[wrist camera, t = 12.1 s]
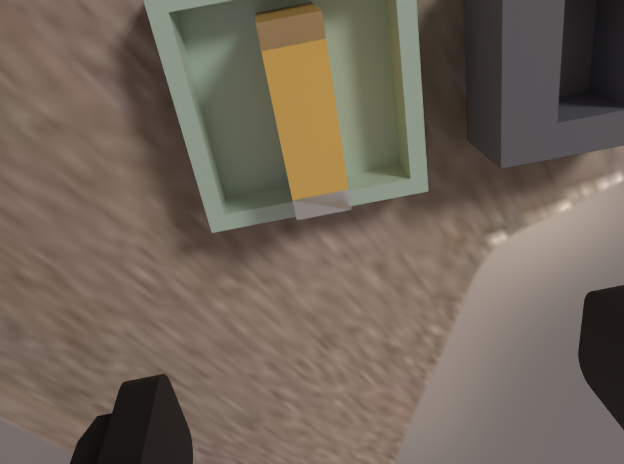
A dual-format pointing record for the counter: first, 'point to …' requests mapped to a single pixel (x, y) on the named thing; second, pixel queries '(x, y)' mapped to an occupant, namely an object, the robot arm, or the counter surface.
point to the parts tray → (259, 110)
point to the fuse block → (544, 78)
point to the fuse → (304, 108)
